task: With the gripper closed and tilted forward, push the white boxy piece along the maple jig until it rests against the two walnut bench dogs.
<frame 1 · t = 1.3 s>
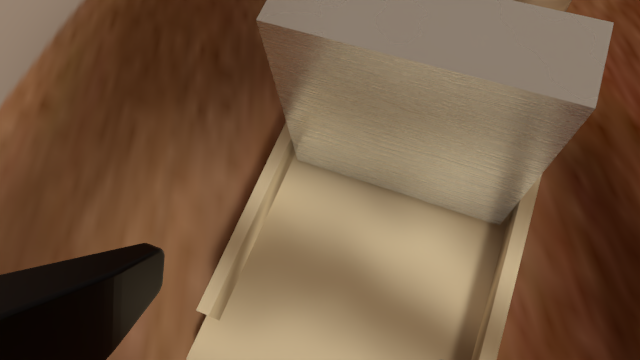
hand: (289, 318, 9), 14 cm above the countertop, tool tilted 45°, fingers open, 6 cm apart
jig: (395, 192, 25), on the countertop
white boxy piece: (412, 110, 19), point 6 cm above the countertop, slide at 0.0 cm
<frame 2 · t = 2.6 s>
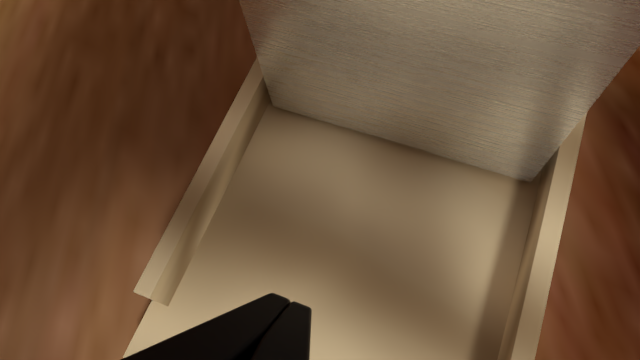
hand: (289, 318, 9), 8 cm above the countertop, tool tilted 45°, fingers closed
jig: (396, 147, 20), on the countertop
white boxy piece: (419, 17, 14), point 6 cm above the countertop, slide at 0.0 cm
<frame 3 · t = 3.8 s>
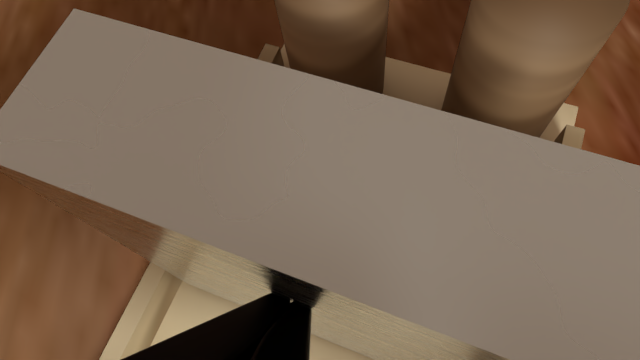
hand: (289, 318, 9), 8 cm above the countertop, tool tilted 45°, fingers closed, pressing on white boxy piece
jig: (329, 333, 17), on the countertop
white boxy piece: (328, 255, 11), point 7 cm above the countertop, slide at 0.2 cm, touching gripper
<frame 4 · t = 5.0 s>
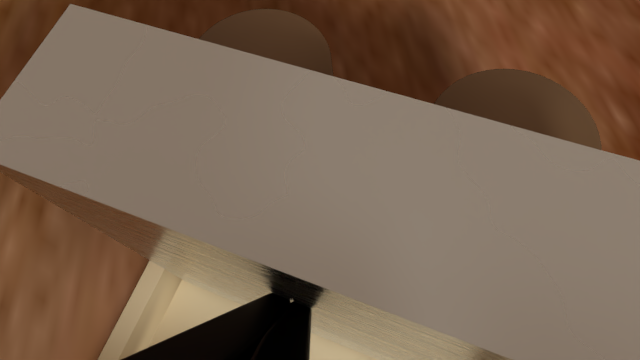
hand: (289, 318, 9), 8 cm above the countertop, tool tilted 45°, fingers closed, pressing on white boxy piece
white boxy piece: (328, 254, 11), point 6 cm above the countertop, slide at 4.9 cm, touching gripper, jig
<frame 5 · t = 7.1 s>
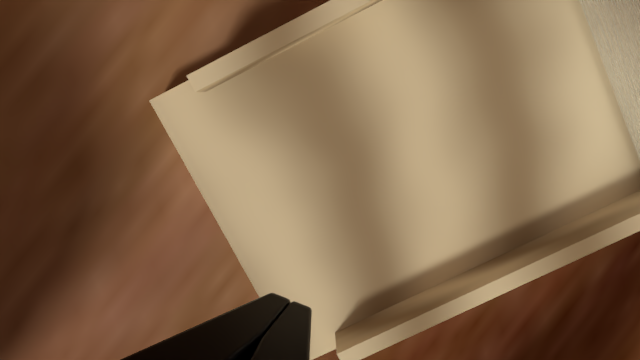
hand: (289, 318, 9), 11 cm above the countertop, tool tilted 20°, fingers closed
jig: (477, 111, 19), on the countertop
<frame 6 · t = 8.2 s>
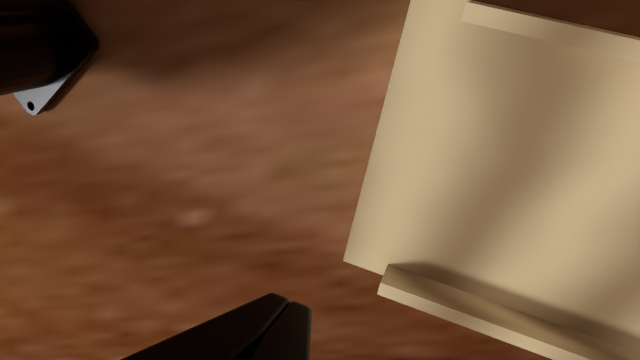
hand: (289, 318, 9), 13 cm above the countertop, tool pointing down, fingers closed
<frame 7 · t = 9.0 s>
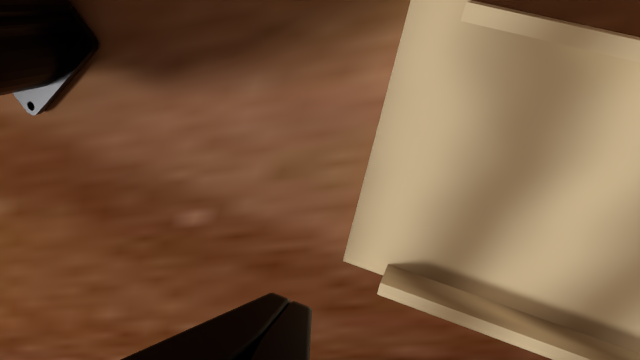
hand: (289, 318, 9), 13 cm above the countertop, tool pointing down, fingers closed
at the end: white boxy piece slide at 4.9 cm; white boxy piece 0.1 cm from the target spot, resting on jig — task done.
